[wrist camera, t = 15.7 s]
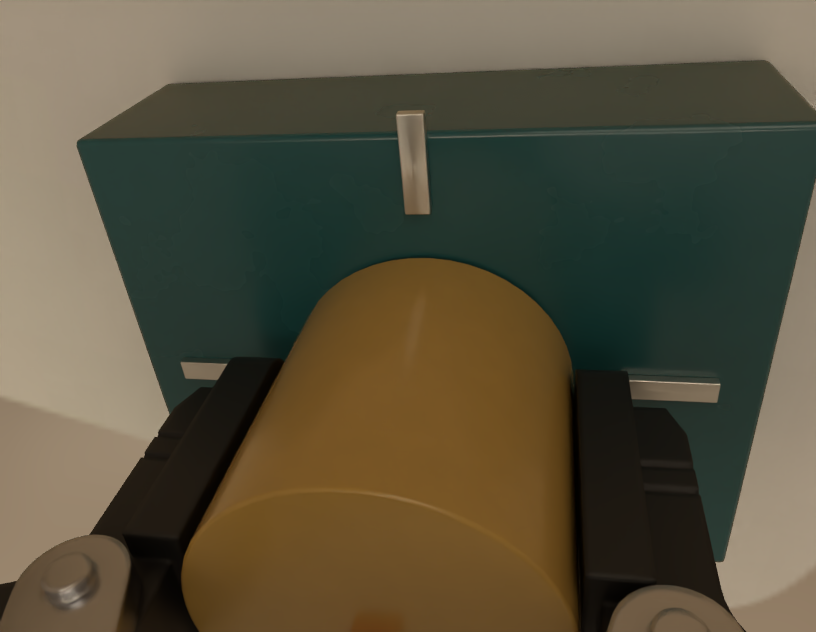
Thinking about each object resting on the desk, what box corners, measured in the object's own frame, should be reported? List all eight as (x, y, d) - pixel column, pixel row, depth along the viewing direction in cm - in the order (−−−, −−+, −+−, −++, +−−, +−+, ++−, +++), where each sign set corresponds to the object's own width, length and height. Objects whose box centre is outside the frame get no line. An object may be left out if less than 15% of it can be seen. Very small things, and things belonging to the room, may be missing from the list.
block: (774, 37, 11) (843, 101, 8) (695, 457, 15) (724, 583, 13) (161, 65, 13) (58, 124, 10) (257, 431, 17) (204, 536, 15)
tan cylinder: (269, 265, 11) (103, 509, 7) (566, 246, 10) (571, 520, 6) (332, 474, 13) (235, 747, 9) (578, 477, 12) (587, 785, 8)
